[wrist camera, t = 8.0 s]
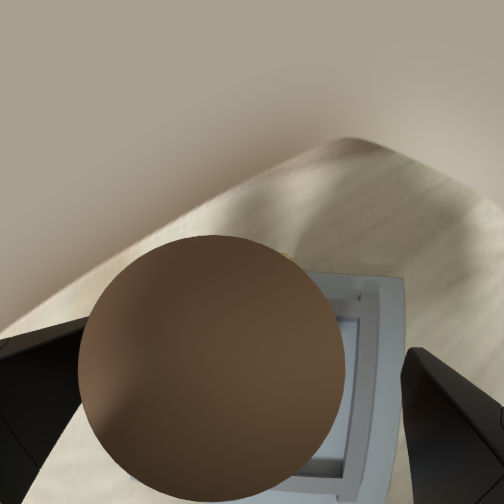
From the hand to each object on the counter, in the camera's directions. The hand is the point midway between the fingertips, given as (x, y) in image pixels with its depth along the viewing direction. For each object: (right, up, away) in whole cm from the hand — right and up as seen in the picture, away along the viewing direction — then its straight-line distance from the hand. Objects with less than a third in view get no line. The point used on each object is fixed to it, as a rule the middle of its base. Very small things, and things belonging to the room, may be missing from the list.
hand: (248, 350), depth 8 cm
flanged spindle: (+1, -5, +7) cm, 9 cm away
